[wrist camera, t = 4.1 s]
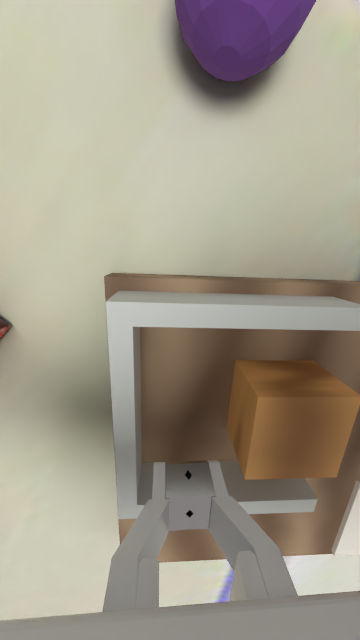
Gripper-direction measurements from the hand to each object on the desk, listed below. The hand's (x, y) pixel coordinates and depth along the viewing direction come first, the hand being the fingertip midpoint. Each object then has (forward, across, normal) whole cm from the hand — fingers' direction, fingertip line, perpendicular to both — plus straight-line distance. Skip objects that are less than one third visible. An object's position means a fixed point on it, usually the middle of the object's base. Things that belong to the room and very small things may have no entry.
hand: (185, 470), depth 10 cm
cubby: (+5, -3, 0) cm, 6 cm away
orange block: (+5, -6, 0) cm, 8 cm away
